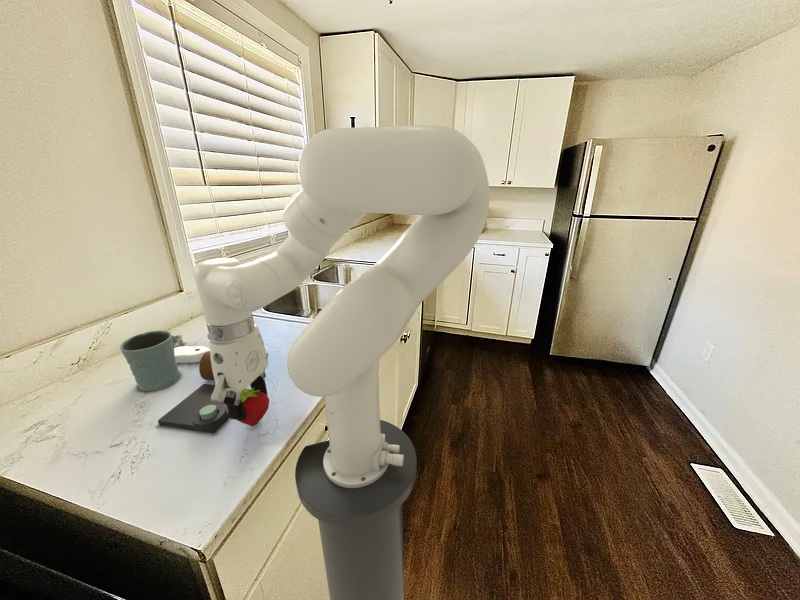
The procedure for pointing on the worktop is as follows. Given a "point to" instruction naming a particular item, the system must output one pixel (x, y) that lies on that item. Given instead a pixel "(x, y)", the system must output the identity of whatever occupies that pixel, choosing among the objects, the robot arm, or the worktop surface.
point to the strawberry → (254, 406)
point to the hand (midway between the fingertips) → (249, 405)
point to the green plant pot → (151, 359)
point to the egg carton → (177, 341)
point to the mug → (206, 367)
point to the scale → (196, 412)
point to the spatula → (190, 353)
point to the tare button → (208, 412)
